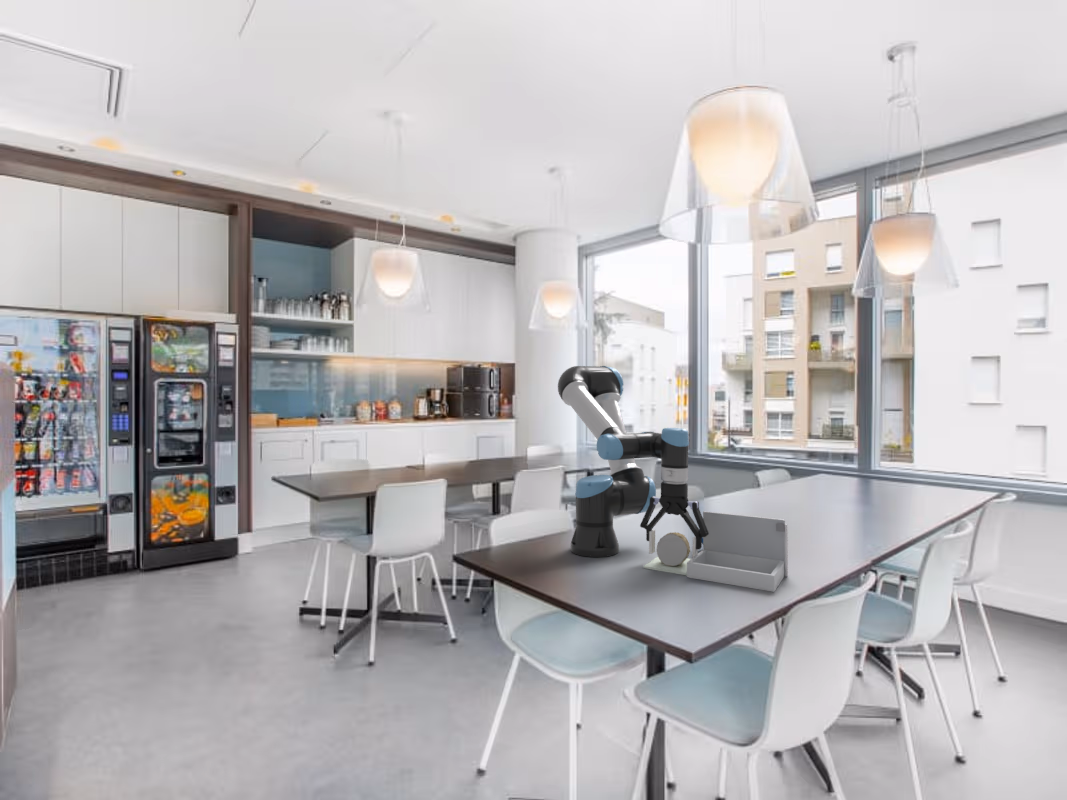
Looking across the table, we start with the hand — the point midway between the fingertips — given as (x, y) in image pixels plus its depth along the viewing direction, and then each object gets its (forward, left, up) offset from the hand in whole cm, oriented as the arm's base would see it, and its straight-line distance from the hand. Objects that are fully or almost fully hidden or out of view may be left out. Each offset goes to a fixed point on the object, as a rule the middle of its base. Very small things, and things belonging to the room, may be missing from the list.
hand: (673, 556), depth 164 cm
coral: (+1, 0, -2) cm, 2 cm away
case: (+18, -1, -2) cm, 18 cm away
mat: (+1, 0, -2) cm, 3 cm away
